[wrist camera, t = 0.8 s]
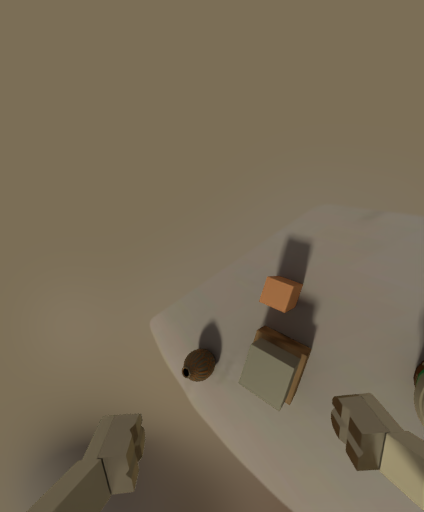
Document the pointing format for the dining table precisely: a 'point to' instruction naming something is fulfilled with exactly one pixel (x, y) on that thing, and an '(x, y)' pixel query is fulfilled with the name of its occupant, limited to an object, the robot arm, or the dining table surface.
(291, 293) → the terracotta block
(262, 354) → the tower top block
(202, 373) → the vase
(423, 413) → the food container
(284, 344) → the tower base block
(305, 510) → the dining table surface
